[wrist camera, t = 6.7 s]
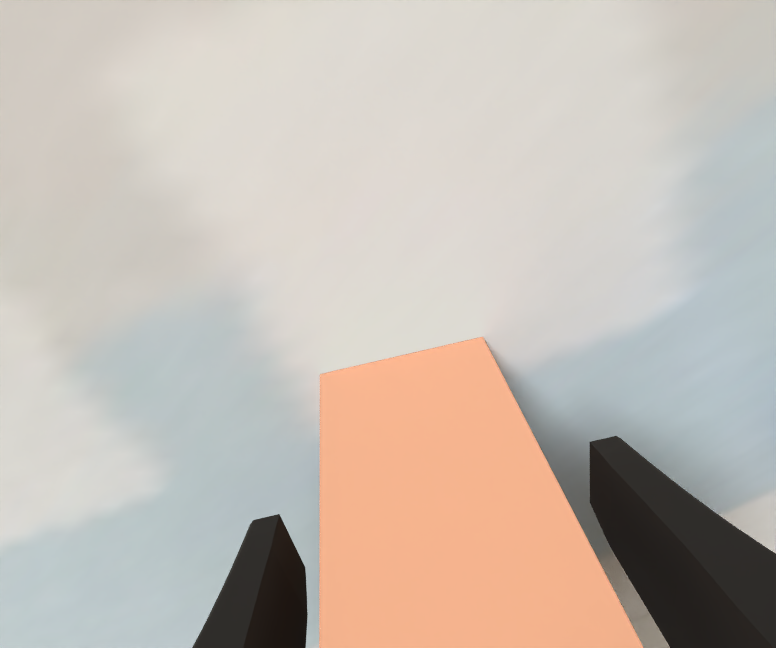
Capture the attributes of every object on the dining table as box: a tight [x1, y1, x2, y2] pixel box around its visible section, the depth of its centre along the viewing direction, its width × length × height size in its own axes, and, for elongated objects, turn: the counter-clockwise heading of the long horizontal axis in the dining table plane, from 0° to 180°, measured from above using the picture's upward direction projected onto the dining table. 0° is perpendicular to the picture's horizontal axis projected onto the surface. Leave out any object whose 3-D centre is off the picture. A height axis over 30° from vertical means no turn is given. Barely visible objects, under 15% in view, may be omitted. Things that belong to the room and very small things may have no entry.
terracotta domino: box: [319, 337, 643, 648], centre depth 12 cm, size 5×2×9 cm, turn 102°
